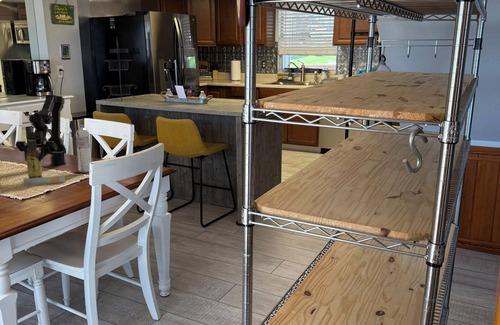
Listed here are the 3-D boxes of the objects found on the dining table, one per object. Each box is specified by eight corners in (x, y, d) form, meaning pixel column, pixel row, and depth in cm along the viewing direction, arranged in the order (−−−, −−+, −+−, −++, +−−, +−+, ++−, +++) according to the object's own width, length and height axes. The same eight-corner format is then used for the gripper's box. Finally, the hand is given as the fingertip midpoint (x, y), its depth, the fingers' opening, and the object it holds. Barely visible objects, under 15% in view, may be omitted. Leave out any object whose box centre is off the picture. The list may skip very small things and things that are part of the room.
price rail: (24, 185, 212) (23, 179, 211) (24, 185, 213) (23, 178, 212) (64, 182, 217) (63, 176, 216) (64, 182, 218) (64, 175, 217)
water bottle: (75, 171, 237) (71, 125, 231) (85, 168, 243) (82, 123, 237) (84, 173, 234) (81, 126, 228) (94, 170, 240) (91, 124, 234)
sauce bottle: (26, 179, 219) (20, 140, 214) (36, 176, 224) (31, 138, 219) (35, 181, 216) (30, 141, 211) (45, 177, 222) (41, 139, 217)
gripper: (14, 125, 217) (5, 152, 210) (52, 125, 218) (45, 152, 210) (24, 137, 227) (16, 163, 219) (60, 137, 227) (54, 164, 219)
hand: (32, 160), depth 217 cm, fingers closed on sauce bottle, 6 cm apart
